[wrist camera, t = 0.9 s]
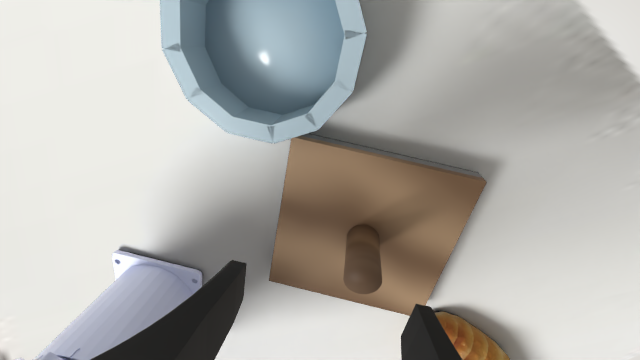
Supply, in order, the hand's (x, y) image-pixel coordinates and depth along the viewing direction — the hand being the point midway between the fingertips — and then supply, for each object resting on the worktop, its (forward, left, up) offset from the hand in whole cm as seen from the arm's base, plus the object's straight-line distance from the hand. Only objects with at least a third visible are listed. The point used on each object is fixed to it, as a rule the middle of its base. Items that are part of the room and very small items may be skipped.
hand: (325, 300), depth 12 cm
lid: (-2, -2, -9) cm, 9 cm away
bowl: (+9, +6, -10) cm, 14 cm away
